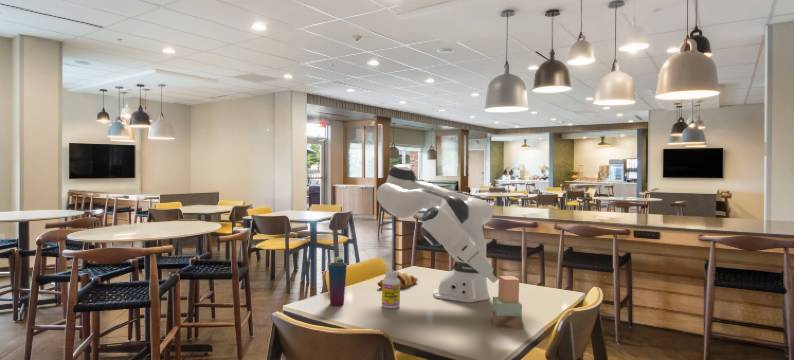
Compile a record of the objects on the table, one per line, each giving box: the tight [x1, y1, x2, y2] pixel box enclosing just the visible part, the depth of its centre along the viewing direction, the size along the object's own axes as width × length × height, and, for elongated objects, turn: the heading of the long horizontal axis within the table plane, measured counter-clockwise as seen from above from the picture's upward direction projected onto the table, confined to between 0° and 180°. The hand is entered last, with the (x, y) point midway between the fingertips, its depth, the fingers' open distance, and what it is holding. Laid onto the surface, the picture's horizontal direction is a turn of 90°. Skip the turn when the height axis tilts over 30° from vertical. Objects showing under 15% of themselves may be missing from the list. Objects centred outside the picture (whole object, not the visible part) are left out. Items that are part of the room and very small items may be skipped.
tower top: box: [492, 296, 523, 316], centre depth 149 cm, size 8×8×4 cm
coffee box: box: [334, 256, 344, 263], centre depth 188 cm, size 8×3×13 cm, turn 15°
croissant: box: [377, 271, 419, 289], centre depth 195 cm, size 21×10×8 cm, turn 127°
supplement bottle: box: [381, 269, 401, 309], centre depth 165 cm, size 7×7×13 cm
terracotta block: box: [497, 275, 520, 303], centre depth 149 cm, size 5×5×8 cm
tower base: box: [492, 309, 523, 330], centre depth 149 cm, size 9×9×4 cm
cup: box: [327, 261, 348, 307], centre depth 167 cm, size 7×7×15 cm
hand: (489, 277), depth 147 cm, fingers open, 8 cm apart
